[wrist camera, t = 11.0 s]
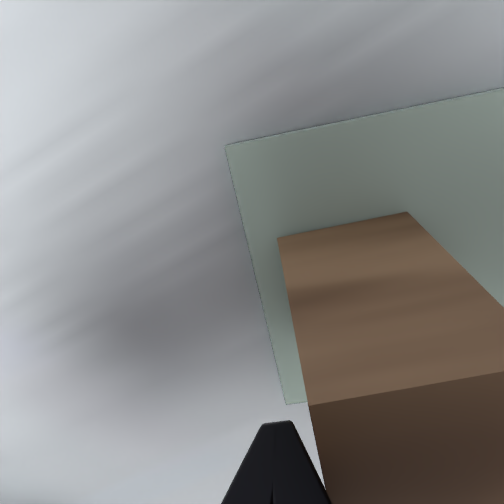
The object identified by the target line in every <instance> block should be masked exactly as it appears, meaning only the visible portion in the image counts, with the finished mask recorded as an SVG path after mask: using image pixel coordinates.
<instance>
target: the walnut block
mask: <svg viewBox="0 0 504 504" xmlns="http://www.w3.org/2000/svg"><path fill="white" fill-rule="evenodd" d="M277 242H278V247H279V252H280V258H281V263H282V268H283V274H284V279H285V284H286V290H287V295H288V300H289V306H290V311H291V316H292V321H293V327H294V332H295V337H296V343H297V348H298V353H299V359H300V364H301V369H302V375H303V380H304V385H305V391H306V396H307V401H308V407H309V411H310V416H311V421H312V426H313V431H314V435H315V440H316V445H317V450H318V455H319V460H320V464H321V469H322V474H323V479H324V484H325V488H326V492H327V494H328V496H329V498H330V500H331V502H332V504H504V307H503V306H502V305H501V304H500V303H499V302H498V301H497V300H496V299H495V298H494V297H493V296H492V295H491V294H490V293H489V292H488V291H487V290H486V289H485V288H484V287H483V286H482V285H481V284H480V283H479V282H478V281H477V280H476V279H475V278H474V277H473V276H472V275H471V274H470V273H469V272H468V271H467V270H466V269H465V268H463V267H462V266H461V265H460V264H459V263H458V262H457V261H456V260H455V259H454V258H453V257H452V256H451V255H450V254H449V253H448V252H447V251H446V250H445V249H444V248H443V247H442V246H441V245H440V244H439V243H438V242H437V241H436V240H435V239H434V238H433V237H432V236H431V235H430V234H429V233H428V232H427V231H426V230H425V229H424V228H423V227H422V226H421V225H420V224H419V223H418V222H417V221H416V220H415V219H414V218H413V217H412V216H411V215H410V214H409V213H408V212H402V213H397V214H392V215H387V216H382V217H378V218H373V219H368V220H363V221H358V222H353V223H348V224H343V225H338V226H333V227H328V228H323V229H318V230H314V231H309V232H304V233H299V234H294V235H289V236H284V237H279V238H277Z"/></svg>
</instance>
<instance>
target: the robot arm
mask: <svg viewBox="0 0 504 504" xmlns="http://www.w3.org/2000/svg"><path fill="white" fill-rule="evenodd" d="M221 504H332V502H331V500H330V498H329V496H328V494H327V492H326V490H325V488H324V486H323V484H322V481H321V479H320V477H319V475H318V473H317V471H316V469H315V467H314V465H313V463H312V461H311V459H310V457H309V455H308V453H307V451H306V449H305V446H304V444H303V442H302V440H301V438H300V436H299V434H298V432H297V430H296V428H295V426H294V424H293V422H292V421H290V420H288V421H280V422H272V423H265V424H262V425H261V427H260V428H259V430H258V432H257V434H256V436H255V438H254V440H253V442H252V444H251V446H250V448H249V450H248V452H247V454H246V456H245V458H244V460H243V462H242V464H241V466H240V468H239V470H238V471H237V473H236V475H235V477H234V479H233V481H232V483H231V485H230V487H229V489H228V491H227V493H226V495H225V497H224V499H223V501H222V503H221Z"/></svg>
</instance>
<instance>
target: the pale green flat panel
mask: <svg viewBox="0 0 504 504" xmlns="http://www.w3.org/2000/svg"><path fill="white" fill-rule="evenodd" d="M225 151H226V156H227V160H228V164H229V168H230V172H231V177H232V181H233V185H234V189H235V193H236V198H237V202H238V206H239V210H240V214H241V218H242V223H243V227H244V231H245V235H246V239H247V244H248V248H249V252H250V256H251V260H252V264H253V269H254V273H255V277H256V281H257V285H258V290H259V294H260V298H261V302H262V306H263V311H264V315H265V319H266V323H267V327H268V331H269V336H270V340H271V344H272V348H273V352H274V357H275V361H276V365H277V369H278V373H279V377H280V382H281V386H282V390H283V394H284V398H285V403H286V405H288V404H296V403H304V402H308V401H307V396H306V391H305V385H304V380H303V375H302V369H301V364H300V359H299V353H298V348H297V343H296V337H295V332H294V327H293V321H292V316H291V311H290V306H289V300H288V295H287V290H286V284H285V279H284V274H283V268H282V263H281V258H280V252H279V247H278V242H277V238H279V237H284V236H289V235H294V234H299V233H304V232H309V231H314V230H318V229H323V228H328V227H333V226H338V225H343V224H348V223H353V222H358V221H363V220H368V219H373V218H378V217H382V216H387V215H392V214H397V213H402V212H408V213H409V214H410V215H411V216H412V217H413V218H414V219H415V220H416V221H417V222H418V223H419V224H420V225H421V226H422V227H423V228H424V229H425V230H426V231H427V232H428V233H429V234H430V235H431V236H432V237H433V238H434V239H435V240H436V241H437V242H438V243H439V244H440V245H441V246H442V247H443V248H444V249H445V250H446V251H447V252H448V253H449V254H450V255H451V256H452V257H453V258H454V259H455V260H456V261H457V262H458V263H459V264H460V265H461V266H462V267H463V268H465V269H466V270H467V271H468V272H469V273H470V274H471V275H472V276H473V277H474V278H475V279H476V280H477V281H478V282H479V283H480V284H481V285H482V286H483V287H484V288H485V289H486V290H487V291H488V292H489V293H490V294H491V295H492V296H493V297H494V298H495V299H496V300H497V301H498V302H499V303H500V304H501V305H502V306H503V307H504V88H499V89H495V90H490V91H485V92H480V93H475V94H470V95H466V96H461V97H456V98H451V99H446V100H441V101H437V102H432V103H427V104H422V105H417V106H412V107H408V108H403V109H398V110H393V111H388V112H383V113H379V114H374V115H369V116H364V117H359V118H354V119H350V120H345V121H340V122H335V123H330V124H325V125H321V126H316V127H311V128H306V129H301V130H296V131H292V132H287V133H282V134H277V135H272V136H267V137H263V138H258V139H253V140H248V141H243V142H238V143H234V144H229V145H225Z"/></svg>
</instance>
